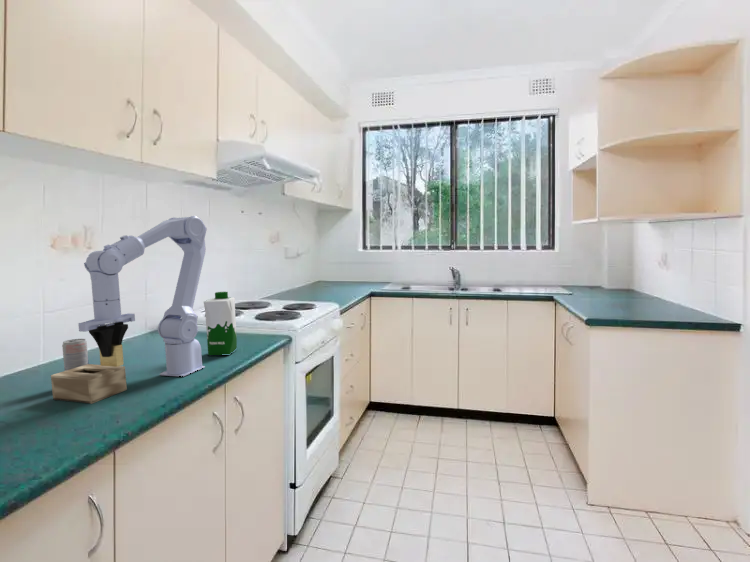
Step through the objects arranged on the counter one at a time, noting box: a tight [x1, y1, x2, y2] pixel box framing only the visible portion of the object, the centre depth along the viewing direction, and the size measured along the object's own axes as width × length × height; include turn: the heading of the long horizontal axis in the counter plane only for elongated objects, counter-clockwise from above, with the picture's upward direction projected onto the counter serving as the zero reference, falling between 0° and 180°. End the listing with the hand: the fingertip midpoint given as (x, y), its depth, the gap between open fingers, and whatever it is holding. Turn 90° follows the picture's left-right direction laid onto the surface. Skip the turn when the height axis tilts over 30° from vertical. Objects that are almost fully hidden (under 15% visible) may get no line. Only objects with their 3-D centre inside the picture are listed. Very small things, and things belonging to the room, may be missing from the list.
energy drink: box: [61, 338, 90, 371], centre depth 121 cm, size 5×5×12 cm
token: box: [98, 344, 125, 367], centre depth 113 cm, size 2×5×5 cm, turn 74°
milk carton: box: [203, 291, 238, 356], centre depth 151 cm, size 9×9×20 cm
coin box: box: [50, 363, 128, 404], centre depth 113 cm, size 10×12×6 cm
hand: (110, 355), depth 113 cm, fingers closed on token, 2 cm apart
